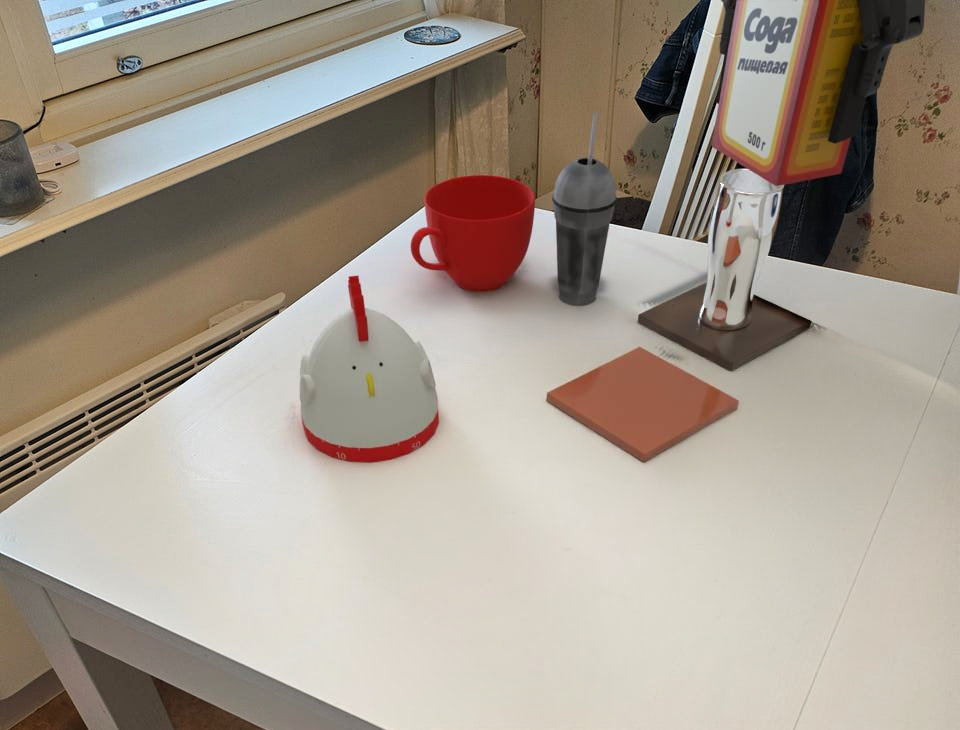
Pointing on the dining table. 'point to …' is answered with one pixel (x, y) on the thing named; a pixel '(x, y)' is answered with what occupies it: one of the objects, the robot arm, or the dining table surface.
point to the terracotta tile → (642, 403)
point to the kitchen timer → (367, 387)
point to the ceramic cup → (477, 229)
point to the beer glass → (738, 246)
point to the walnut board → (723, 345)
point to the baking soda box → (786, 87)
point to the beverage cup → (582, 224)
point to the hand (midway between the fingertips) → (783, 119)
